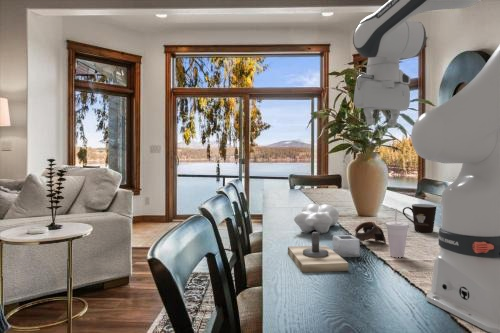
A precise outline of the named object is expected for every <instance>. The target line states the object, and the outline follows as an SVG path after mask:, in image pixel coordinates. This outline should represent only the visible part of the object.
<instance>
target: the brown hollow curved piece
mask: <svg viewBox="0 0 500 333" xmlns="http://www.w3.org/2000/svg"><path fill="white" fill-rule="evenodd" d="M361 230H362V231H363V232H359V231H361ZM354 232H355V236H354V237H356V238H358V239H359V240H360V242H365V241H369V240H371V239H372V240H374V241H375V242H379V241H380V242H383V243H384V245H385V244H386V245H387V241H386V237H385V234H384V231H383V229H382V228H381V227H380V226H378V225H377V224H376V223H375V222H374V221H365V222H361V223H360V224H359V225H357V226H356V228H355V229H354Z"/></svg>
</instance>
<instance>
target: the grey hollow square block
mask: <svg viewBox="0 0 500 333" xmlns="http://www.w3.org/2000/svg"><path fill="white" fill-rule="evenodd" d="M360 242H361V241H360V240H359V239H358V238H356V237H355V236H354V235H352V234H347V235H345V234H344V235H343V234H342V235H341V234H339V235H332V250H333V251H334V252H335V253H336V254H338V255H339V256H340V257H341V258H355V257H356V258H357V257H360Z"/></svg>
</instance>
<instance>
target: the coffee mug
mask: <svg viewBox="0 0 500 333" xmlns="http://www.w3.org/2000/svg"><path fill="white" fill-rule="evenodd" d="M437 208H438V207H437V205H435V204H429V203H428V204H427V203H413V204H412V203H411V207H410V206H405V207H404V208H402V215H403V216H404V217H405V218H406V219H407V220H408V221H410V222H411V223H412V224H413V228H414V231H415V232H417V233H421V234H430V233H433V232H434V227H435V221H436V212H437ZM406 209H409V210H410V211H411V212H412V218H413V219H411V218H410V217H408V216H407V215H406V214H405V210H406Z"/></svg>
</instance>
